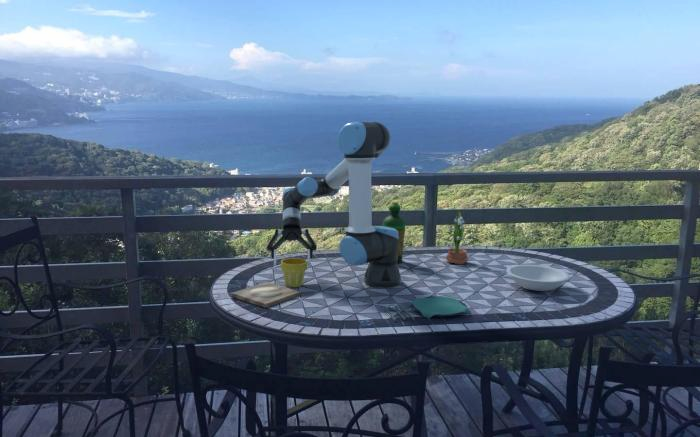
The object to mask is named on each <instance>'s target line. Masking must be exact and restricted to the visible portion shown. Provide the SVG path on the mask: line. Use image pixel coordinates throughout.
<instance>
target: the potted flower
mask: <svg viewBox="0 0 700 437" xmlns="http://www.w3.org/2000/svg"><path fill="white" fill-rule="evenodd" d="M454 222H455V223H454ZM453 223H454V226H453V227H452V231H453V233H452V234H453V235H452V238H453V241H454V248H449V249H447V255H446V257H445V259H446V261H447V262H448V263H449V262H450V264H452V263H455V264H454V265H464V264H466V263H468V260H469V256H468V255H467V252H468V251H467V250H466V249H464V248H463V249H462V248H460V244H461V242H462V239H463V236H464V232H465V226H464V225H463V224H465V220H464V217H463V216H462V213H461V212H460V210H459V211H457V213H456V216H455V218H454V220H453ZM463 263H464V264H463Z"/></svg>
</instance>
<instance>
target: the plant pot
mask: <svg viewBox="0 0 700 437" xmlns="http://www.w3.org/2000/svg"><path fill="white" fill-rule="evenodd" d="M280 269H281V271H282V273H283V278H284V279H283V280H284V284H285V287H288V288H298V287H301V286H302V285H303V281H304V277H305V273H306V271H307V269H308V260H307V259H304V258H300V257H299V258H298V257H290V258H289V257H287V258H284V259H281V261H280Z"/></svg>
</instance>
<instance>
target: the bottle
mask: <svg viewBox="0 0 700 437" xmlns="http://www.w3.org/2000/svg"><path fill="white" fill-rule="evenodd" d="M388 211H389V215H388V216H386V217H385V218H384V219H383V221H382V226H383V227H390V228H394V229H396V230H397V231H398V238H399V240H398V260H397V264H400V263H402V262H403V254H404V246H405V234H406V233H405V232H406V226H407V225H406V224H407V222H406V220H405V218H403V217H402V216H400V212H401V211H402V209H401V206H400V204H399V202H398V201H391V204H389V207H388Z"/></svg>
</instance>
